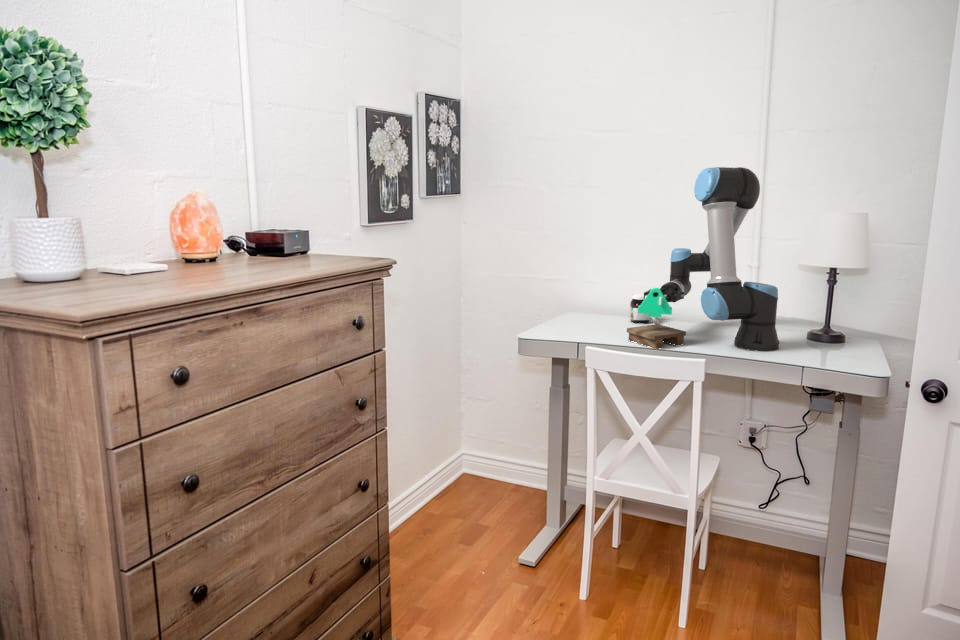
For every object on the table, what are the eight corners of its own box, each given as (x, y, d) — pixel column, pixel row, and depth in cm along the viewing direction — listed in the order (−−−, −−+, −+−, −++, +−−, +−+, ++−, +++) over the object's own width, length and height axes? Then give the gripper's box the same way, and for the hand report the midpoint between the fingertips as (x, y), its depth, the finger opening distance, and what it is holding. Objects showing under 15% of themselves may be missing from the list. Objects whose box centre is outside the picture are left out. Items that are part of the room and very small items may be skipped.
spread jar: (627, 319, 298) (628, 293, 296) (653, 319, 299) (654, 293, 296) (635, 325, 286) (636, 298, 284) (661, 325, 287) (663, 297, 285)
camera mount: (671, 313, 255) (672, 286, 253) (671, 317, 248) (673, 289, 246) (638, 312, 258) (639, 285, 256) (637, 316, 251) (638, 288, 249)
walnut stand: (685, 344, 253) (685, 331, 252) (654, 349, 246) (654, 335, 245) (656, 336, 265) (657, 324, 264) (626, 341, 259) (627, 328, 258)
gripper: (694, 302, 264) (676, 313, 244) (649, 298, 273) (628, 308, 253) (695, 283, 262) (677, 292, 243) (650, 280, 271) (629, 288, 252)
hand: (652, 300), depth 248 cm, fingers closed on camera mount, 5 cm apart
